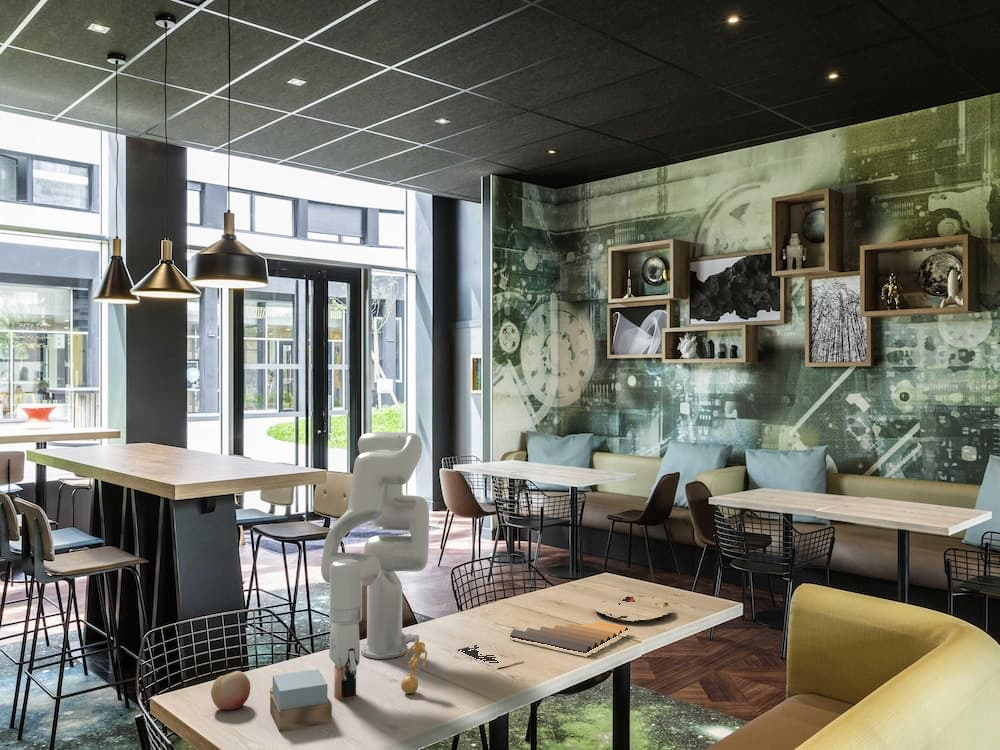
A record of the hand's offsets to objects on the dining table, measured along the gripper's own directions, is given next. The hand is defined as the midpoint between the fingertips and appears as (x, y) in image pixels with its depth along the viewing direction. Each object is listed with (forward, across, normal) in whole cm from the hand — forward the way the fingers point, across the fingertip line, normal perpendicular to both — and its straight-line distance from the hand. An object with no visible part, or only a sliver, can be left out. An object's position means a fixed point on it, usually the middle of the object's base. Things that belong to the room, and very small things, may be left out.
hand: (345, 691), depth 185 cm
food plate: (+1, -27, +101) cm, 105 cm away
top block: (-3, +8, -12) cm, 15 cm away
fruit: (+1, -4, -25) cm, 25 cm away
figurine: (+1, +5, +15) cm, 16 cm away
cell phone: (+2, -10, +42) cm, 43 cm away
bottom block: (+1, +8, -12) cm, 15 cm away
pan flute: (+2, -15, +70) cm, 72 cm away
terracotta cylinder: (+1, 0, 0) cm, 1 cm away
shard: (+2, -11, -12) cm, 16 cm away
